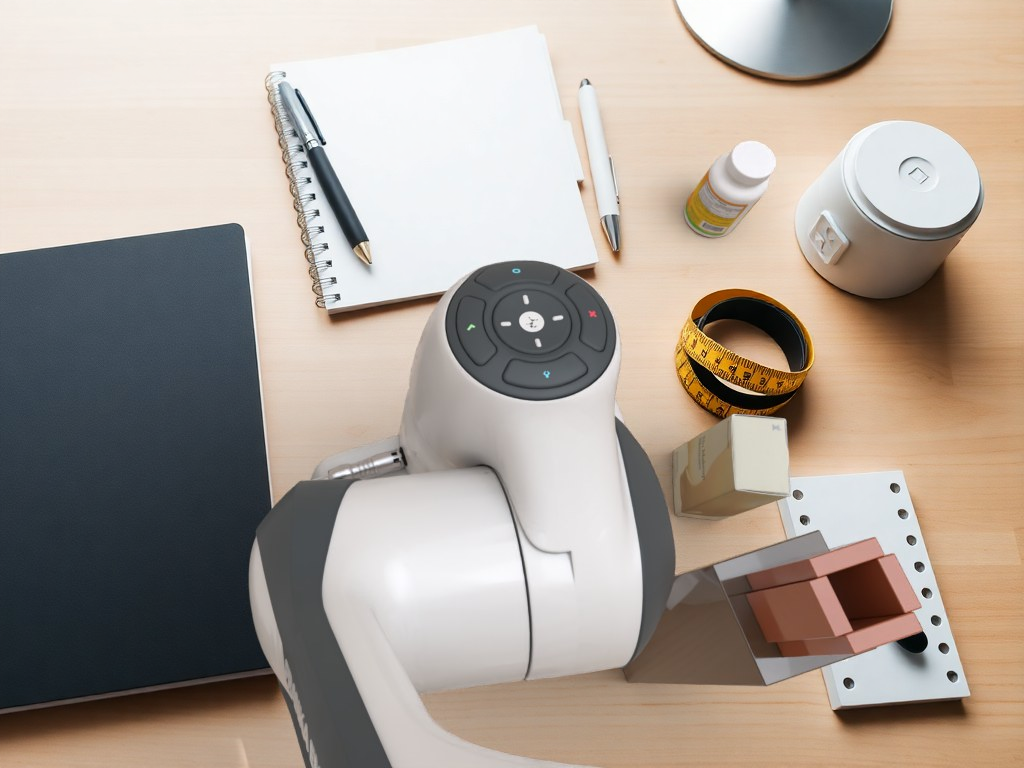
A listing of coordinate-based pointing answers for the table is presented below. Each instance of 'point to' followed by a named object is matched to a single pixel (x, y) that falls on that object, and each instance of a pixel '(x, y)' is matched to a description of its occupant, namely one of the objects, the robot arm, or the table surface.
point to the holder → (778, 614)
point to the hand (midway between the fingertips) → (448, 485)
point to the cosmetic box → (732, 468)
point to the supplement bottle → (730, 189)
